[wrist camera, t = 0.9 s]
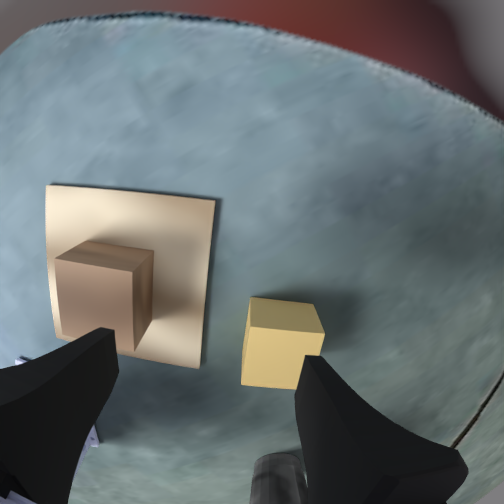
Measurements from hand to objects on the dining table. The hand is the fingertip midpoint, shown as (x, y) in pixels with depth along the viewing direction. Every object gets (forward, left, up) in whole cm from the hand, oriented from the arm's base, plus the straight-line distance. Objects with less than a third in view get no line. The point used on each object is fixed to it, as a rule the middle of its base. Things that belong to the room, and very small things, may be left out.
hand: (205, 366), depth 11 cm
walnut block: (-1, +7, -9) cm, 12 cm away
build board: (-1, +7, -10) cm, 12 cm away
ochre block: (-3, -4, -10) cm, 11 cm away
